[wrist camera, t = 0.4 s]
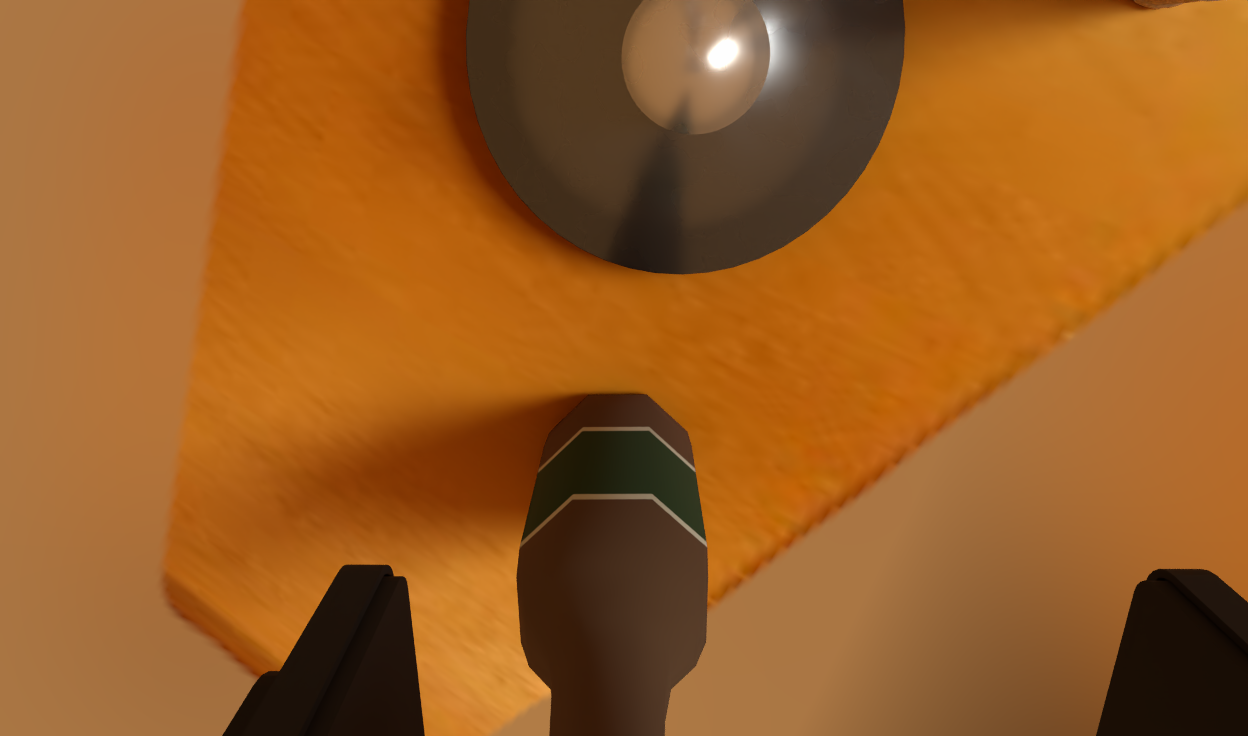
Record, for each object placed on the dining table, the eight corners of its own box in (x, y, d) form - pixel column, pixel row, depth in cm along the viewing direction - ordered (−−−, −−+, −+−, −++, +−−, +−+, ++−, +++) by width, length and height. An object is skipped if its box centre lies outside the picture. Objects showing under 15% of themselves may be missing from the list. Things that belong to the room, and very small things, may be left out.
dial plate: (458, -178, 32) (446, -196, 30) (912, -186, 31) (932, -205, 29) (489, 266, 38) (481, 277, 36) (869, 262, 38) (882, 273, 36)
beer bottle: (518, 417, 41) (375, 843, 18) (659, 361, 39) (694, 742, 17) (581, 539, 43) (524, 1047, 21) (715, 489, 42) (811, 970, 19)
